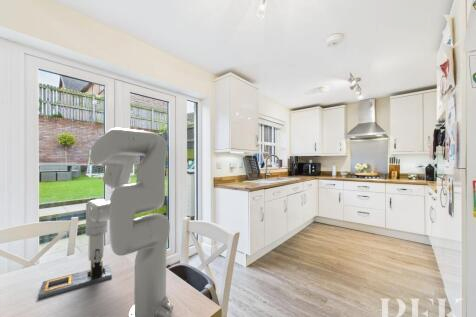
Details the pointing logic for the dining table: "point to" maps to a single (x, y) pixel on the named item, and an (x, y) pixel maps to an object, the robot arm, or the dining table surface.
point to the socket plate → (72, 282)
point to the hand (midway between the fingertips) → (96, 271)
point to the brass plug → (92, 266)
